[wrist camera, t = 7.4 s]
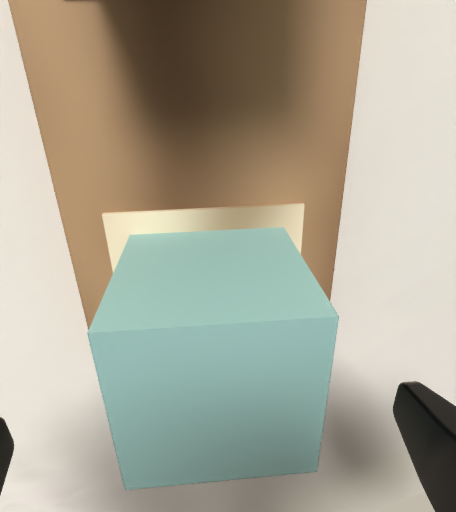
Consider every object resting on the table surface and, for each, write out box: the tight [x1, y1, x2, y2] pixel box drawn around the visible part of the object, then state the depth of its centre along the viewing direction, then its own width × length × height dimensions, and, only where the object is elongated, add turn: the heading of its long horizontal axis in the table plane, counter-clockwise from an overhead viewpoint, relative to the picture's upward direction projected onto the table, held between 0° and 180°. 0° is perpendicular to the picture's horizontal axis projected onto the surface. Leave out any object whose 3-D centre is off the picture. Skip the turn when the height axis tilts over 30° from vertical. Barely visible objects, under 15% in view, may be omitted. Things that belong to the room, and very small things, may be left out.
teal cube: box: [87, 227, 339, 490], centre depth 10 cm, size 5×5×5 cm
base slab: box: [8, 0, 367, 330], centre depth 11 cm, size 9×22×3 cm, turn 1°
